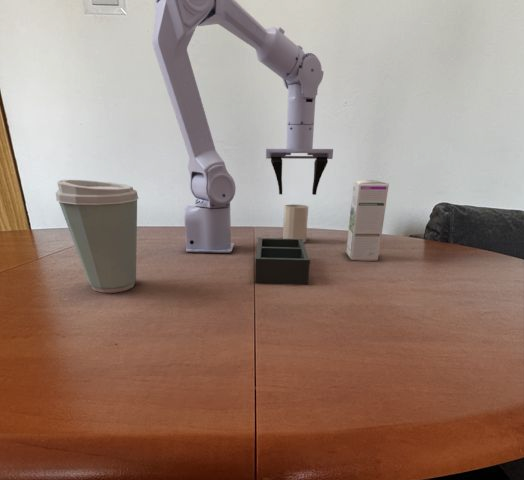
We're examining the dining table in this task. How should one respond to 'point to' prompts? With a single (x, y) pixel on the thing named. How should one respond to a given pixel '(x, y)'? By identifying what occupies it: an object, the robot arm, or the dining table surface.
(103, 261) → the disposable coffee cup
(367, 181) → the syrup box
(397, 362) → the dining table surface
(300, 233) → the paper cup
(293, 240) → the cup holder
